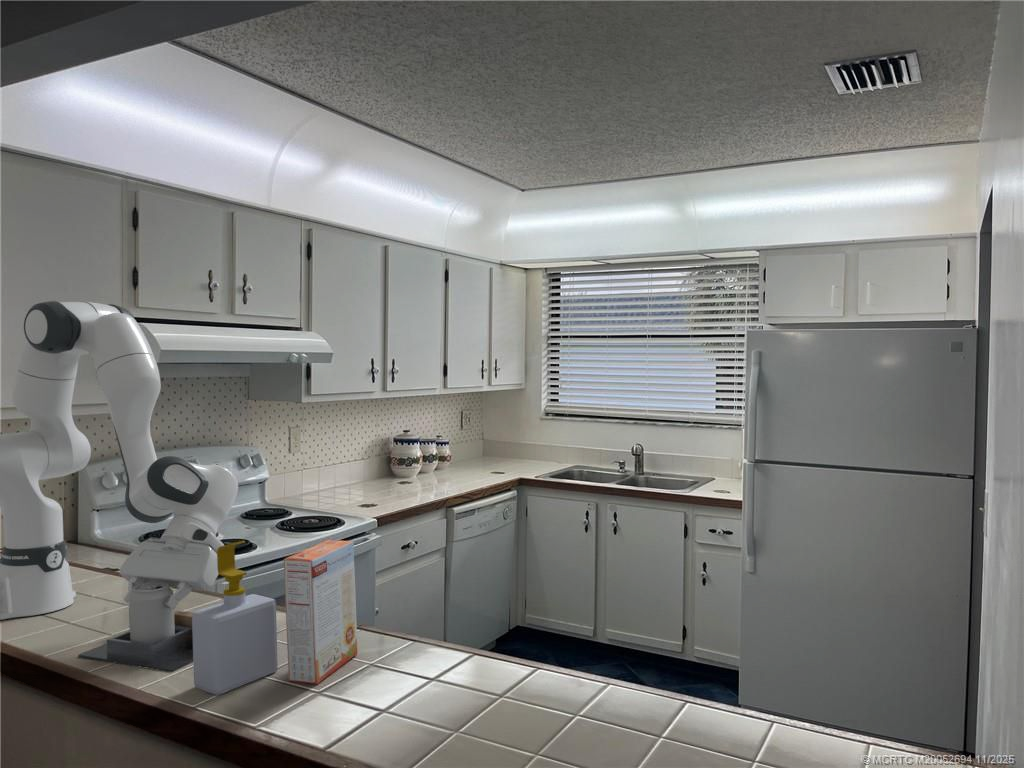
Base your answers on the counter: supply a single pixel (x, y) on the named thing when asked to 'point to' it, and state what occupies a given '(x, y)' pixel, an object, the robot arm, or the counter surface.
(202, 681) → the soap bottle
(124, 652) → the socket
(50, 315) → the robot arm
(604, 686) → the counter surface
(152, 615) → the can
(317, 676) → the cracker box
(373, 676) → the counter surface
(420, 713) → the counter surface
